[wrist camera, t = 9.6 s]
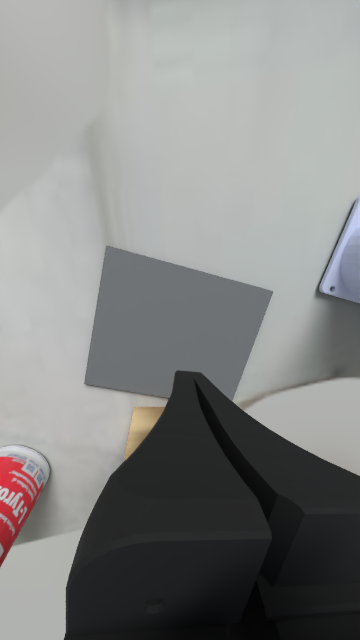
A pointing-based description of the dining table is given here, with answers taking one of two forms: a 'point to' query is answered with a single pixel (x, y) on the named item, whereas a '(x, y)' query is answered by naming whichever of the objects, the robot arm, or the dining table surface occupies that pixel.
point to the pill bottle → (18, 490)
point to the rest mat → (170, 325)
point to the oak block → (141, 426)
